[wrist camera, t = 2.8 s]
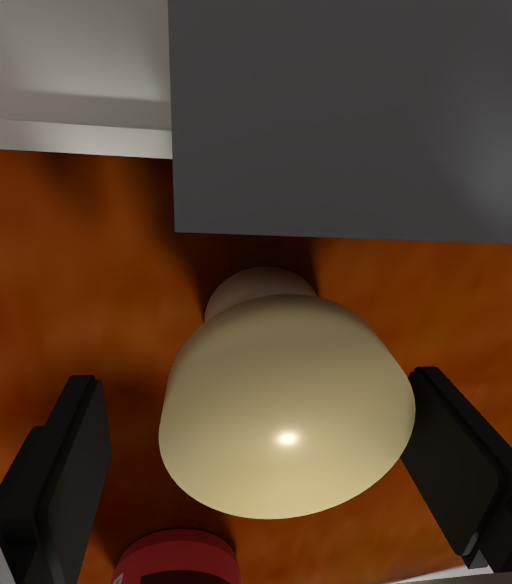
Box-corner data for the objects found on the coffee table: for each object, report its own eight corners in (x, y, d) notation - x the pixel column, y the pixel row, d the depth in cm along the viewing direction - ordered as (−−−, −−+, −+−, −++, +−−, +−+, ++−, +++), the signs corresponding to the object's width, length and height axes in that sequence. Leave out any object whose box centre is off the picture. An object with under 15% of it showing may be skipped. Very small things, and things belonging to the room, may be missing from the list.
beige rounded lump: (337, 338, 16) (376, 412, 12) (238, 383, 17) (245, 468, 13) (293, 245, 14) (323, 296, 10) (181, 300, 15) (168, 370, 11)
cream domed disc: (412, 419, 13) (440, 463, 11) (233, 494, 13) (235, 545, 12) (345, 251, 10) (370, 278, 8) (119, 360, 10) (101, 405, 9)
